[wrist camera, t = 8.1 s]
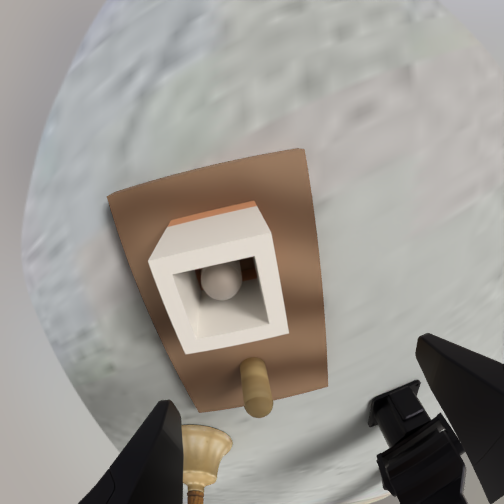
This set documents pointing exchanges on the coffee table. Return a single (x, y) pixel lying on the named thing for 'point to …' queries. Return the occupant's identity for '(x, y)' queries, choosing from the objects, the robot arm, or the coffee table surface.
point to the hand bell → (202, 458)
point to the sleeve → (212, 253)
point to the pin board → (291, 258)
